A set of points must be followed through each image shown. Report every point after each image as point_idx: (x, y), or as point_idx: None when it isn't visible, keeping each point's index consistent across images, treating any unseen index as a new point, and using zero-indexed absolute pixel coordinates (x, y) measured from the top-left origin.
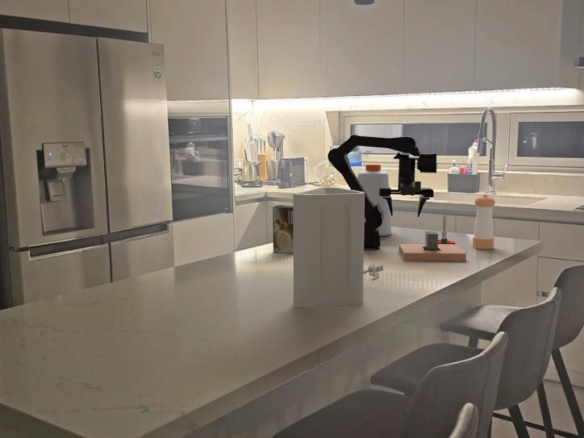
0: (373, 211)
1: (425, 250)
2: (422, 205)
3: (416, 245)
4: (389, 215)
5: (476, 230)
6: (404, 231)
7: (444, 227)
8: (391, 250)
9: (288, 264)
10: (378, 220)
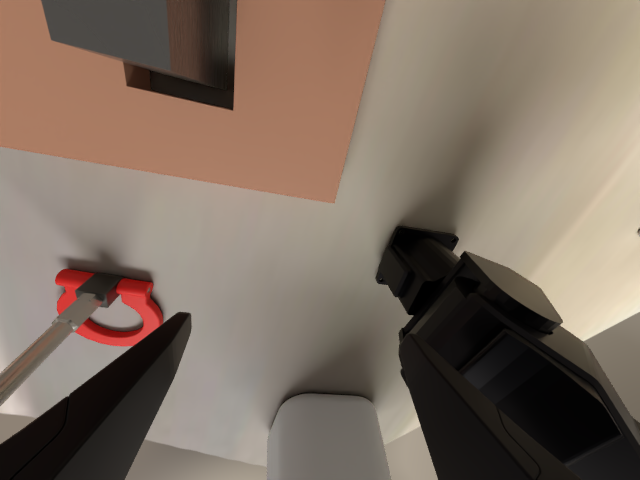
0: (584, 363)
1: (220, 60)
2: (15, 448)
3: (257, 149)
4: (283, 476)
5: None
6: (229, 435)
7: (42, 341)
8: (354, 208)
9: None
10: (505, 290)
